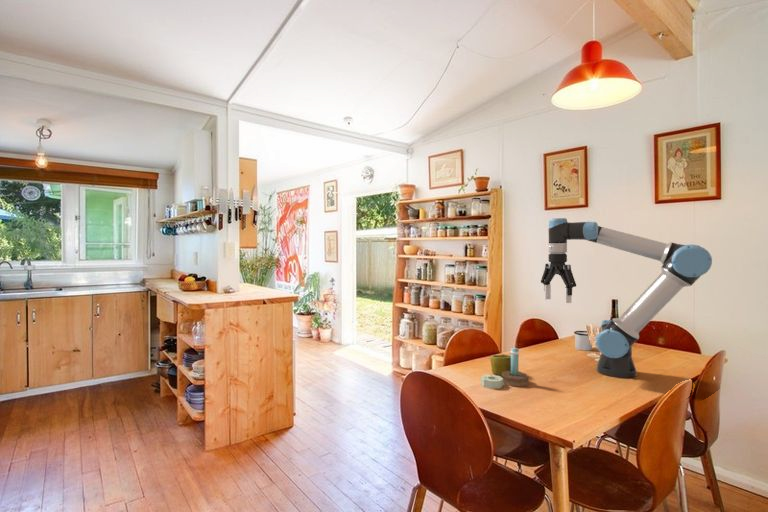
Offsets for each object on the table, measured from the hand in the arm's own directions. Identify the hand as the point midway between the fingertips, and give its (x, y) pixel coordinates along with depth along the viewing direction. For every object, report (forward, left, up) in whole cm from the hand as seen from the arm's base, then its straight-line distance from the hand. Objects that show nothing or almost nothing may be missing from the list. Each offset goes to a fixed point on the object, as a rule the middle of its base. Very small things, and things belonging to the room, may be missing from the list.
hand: (557, 301), depth 180 cm
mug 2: (-21, -48, -32) cm, 61 cm away
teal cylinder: (+19, +20, -32) cm, 42 cm away
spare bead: (+28, +26, -32) cm, 50 cm away
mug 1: (+24, +8, -32) cm, 41 cm away
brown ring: (+19, +20, -32) cm, 42 cm away
